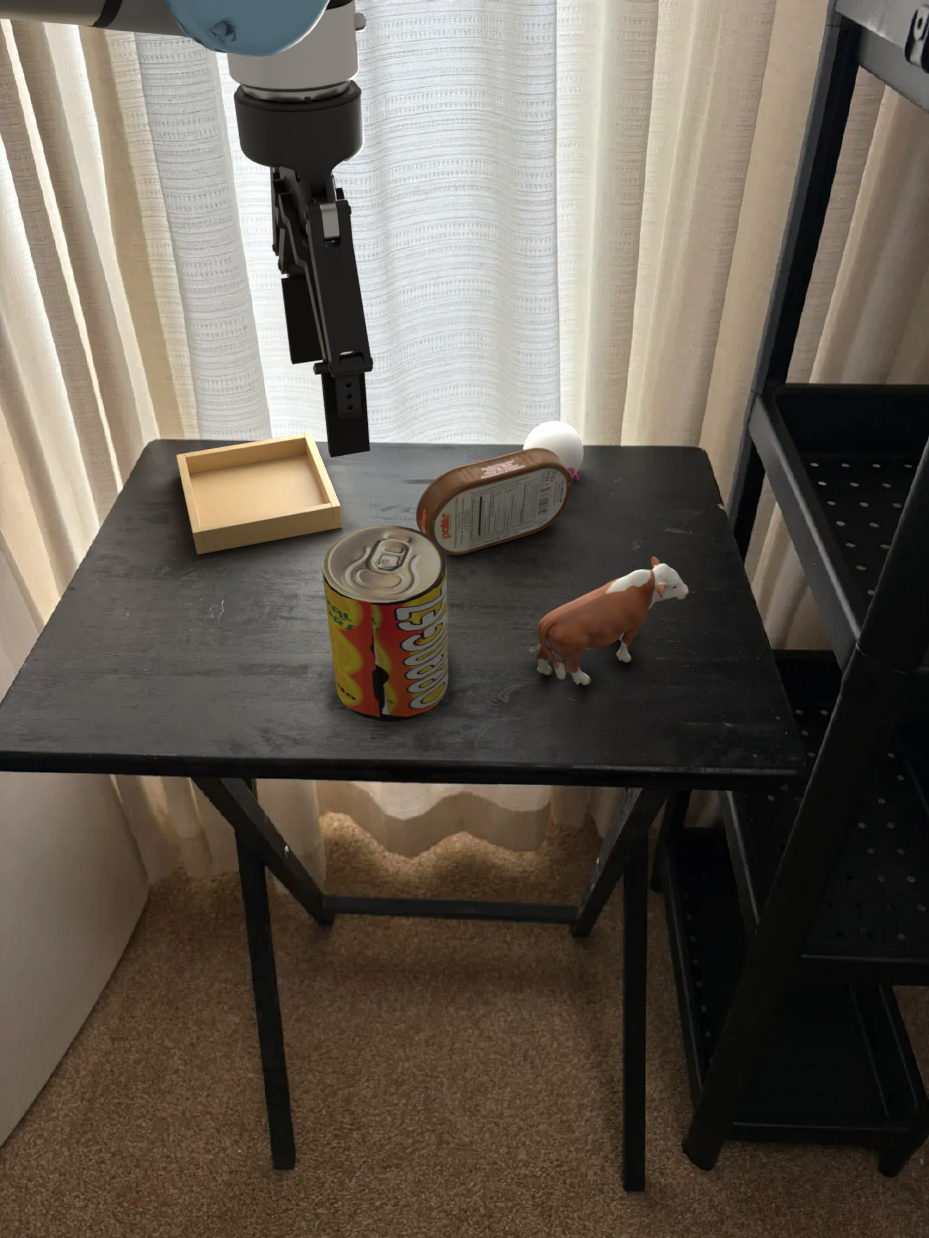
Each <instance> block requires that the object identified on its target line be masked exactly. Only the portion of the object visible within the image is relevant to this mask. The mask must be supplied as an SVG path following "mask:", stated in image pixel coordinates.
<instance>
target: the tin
mask: <svg viewBox="0 0 929 1238" xmlns="http://www.w3.org/2000/svg"><path fill="white" fill-rule="evenodd" d="M572 490H573V477H572V476H571V474H570V472H569V471H568V469H567V468H566V467H565V466H564V464H563V463H562V462H561V461H560V459H559V457H558V456H557V455H556V454H555V453H554V452H552V451H550V450H548V449H545V448H530V449H525V450H523V449H522V450H518V451H514V452H510V453H507V454H503V455H500V456H496V457H495V456H494V457H492V458H488V459H484V460H480V461H475V462H473V463H467V464H465V465H460V466H457V467H454V468H451V469H449V470H448V471H445V472H444V473H442V474H440V475H439V476H438V477H436V478H435V479H434V480H433V481H431V483H429V485H428V486H427V487H426V489H425V490H424V491H423V492H422V494H421V496H420V498H419V500H418V502H417V506H416V510H415V522H416V526H417V528H418V531H420V532H423V533H425V534H427V535H428V536H430V537H431V538H433V539H435V540H436V541H437V542H438V544H439V545H440V546H441V547H442V548H443V551H444V553H445V555H450V556H462V555H466V554H470V553H473V552H476V551H480V550H483V549H486V548H490V547H493V546H497V545H500V544H504V543H507V542H511V541H515V540H517V539H521V538H523V537H527V536H530V535H534V534H536V533H539V532H541V531H543V530H545V529H546V528H548V527H549V526H551V525H552V524H553V523H555V521H557V520H558V519H559V517H560V516H561V515H562V514H563V512H564V511H565V510H566V508H567V506H568V504H569V501H570V499H571V494H572Z"/></svg>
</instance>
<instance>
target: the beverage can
mask: <svg viewBox="0 0 929 1238" xmlns="http://www.w3.org/2000/svg"><path fill="white" fill-rule="evenodd" d="M321 571H322V580H323V588H324V589H323V590H324V597H325V605H326V614H327V622H328V633H329V639H330V648H331V655H332V666H333V673H334V683H335V688H336V693H337V695H338V697H339V699H340V700H341V702H342V703H343V705H344V706H345V707H347V709H349V710H350V711H351V712H353V713H354V714H356V715H358V716H361V717H362V718H364V719H369V720H373V721H378V722H399V721H405V720H410V719H414V718H416V717H418V716H421V715H423V714H425V713H427V712H428V711H430V710H431V709H433V708H434V707H436V706H437V704H439V702H440V701H441V700H443V698H444V696H445V694H446V691H447V689H448V686H449V638H448V637H449V636H448V635H449V634H448V633H449V632H448V631H449V630H448V578H447V577H448V576H447V556H446V554H445V553H444V551H443V548H442V547H441V546H440V545H439V544H438V542H437V541H436V540H435V539H433V538H431V537H430V536H428V535H427V534H425V533H423V532H420V530H419V529H418V530H417V529H415V528H412V527H407V526H401V525H374V526H369V527H363V528H359V529H358V530H354V531H351V532H350V533H348V534H345V535H344V536H342V537H340V538H338V539H337V540H336V541H335V542H333V543H332V544H331V545H330V546H329V547H328V549H327V551H326V552H325V554H324V555H323V559H322V564H321Z"/></svg>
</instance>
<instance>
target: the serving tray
mask: <svg viewBox="0 0 929 1238" xmlns="http://www.w3.org/2000/svg"><path fill="white" fill-rule="evenodd" d="M175 457H176V462H177V465H178V470H179V476H180V480H181V485H182V490H183V494H184V498H185V503H186V508H187V514H188V518H189V523H190V527H191V531H192V537H193V540H194V545H195V551H196V554H197V555H202V554H203V555H204V554H208V553H214V552H220V551H224V550H230V549H235V548H239V547H245V546H251V545H256V544H262V543H266V542H271V541H278V540H283V539H287V538H293V537H299V536H303V535H310V534H314V533H319V532H324V531H330V530H335V529H341V528H343V517H342V509H341V507H342V506H341V504H340V501H339V499H338V496H337V495H336V491H335V489H334V486H333V484H332V482H331V479H330V476H329V473H328V472H327V469H326V466H325V464H324V462H323V459H322V456H321V454H320V451H319V449H318V446H317V444H316V442H315V439H314V437H313V435H312V432H306V433H298V434H292V435H287V436H280V437H274V438H270V439H263V440H257V441H251V442H244V443H239V444H233V445H227V446H221V447H214V448H208V449H203V450H197V451H196V450H195V451H191V452H184V453H179V454H175Z"/></svg>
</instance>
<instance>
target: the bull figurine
mask: <svg viewBox="0 0 929 1238" xmlns="http://www.w3.org/2000/svg"><path fill="white" fill-rule="evenodd" d="M650 565H651V567H652V569H636V570H633V571H632V572H630V573H628V574H627V575H624V576H622V577H619V578H615V579H613V580H610V581H609V582H607V583H606V584H604V585H603V586H600V587H599V588H596V589H594V590H591V591H589V592H588V593H586V594H584V595H581V596H579V597H578V598H576V599H574V600H572V601H569V602H567V603H564V604H562V605H560V606H558V607H557V608H555V609H553V610H551V611H549V612H548V613H547V614H545V615H544V616H543V617H542V618H541V619H540V620H539V622H538V623H537V626H536V635H537V638H538V641H539V644H540V648H539V650H538V651H537V652H536V653H535V655H534V656H535V658H536V661H537V668H536V671H537V672H539V673H540V674H543V675H544V676H550V675H551V674H553V669H552V667H551V666H550V665H549V662H548V661H549V659H550V660H551V662H552V664H553V665H552V666H553V668H554V672H555V674H556V678H557V679H559V680H565V679H566V673H569V674H570V675H571V676H572V681H573V682H574V683H575V684H576V685H579V684H581V685H583V686H587V685H589V684H590V683H591V681H592V680H591V677H590V675H588V674H586V673H585V672H584V671H582V669H581V668H580V659H581V657H582V654H583V652H584V651H585V650H588V651H589V650H590V649H602V648H604V647H607V646H610V645H613V644H614V643H615V642H617V641H619V642H620V647H619V649H618V650H617V651H616V657H617V658H618V661H622V662H623V663H626V664H627V663H630V662H631V661H632V656H631V655H630V654H629V651H628V649H629V647H630V646H631V645H632V644H633V642H634V639H635V637H636V636H637V634H639V632H640V631H641V628H642V626H643V625H644V624H645V622H646V621H647V619H648V616H649V610H650V609H652V607H653V606H654V604H655V603H656V602H663V601H666V600H669V599H672V598H676V600H684V599H686V597H687V596H688V594H689V588H688V585H687V584H685V583H684V581H683V579H682V578H681V577H680V575H679V573H678V572H677V571H676V570H675V569H674V568H672V567H670V566H669V565H668V564H666V563H661V561H660V560H659V559H658V558H657V556H652V557H651V558H650ZM553 652H554V653H555V654H556V656H557V657H556V656H555V654H553ZM564 661H565V662H564Z"/></svg>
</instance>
